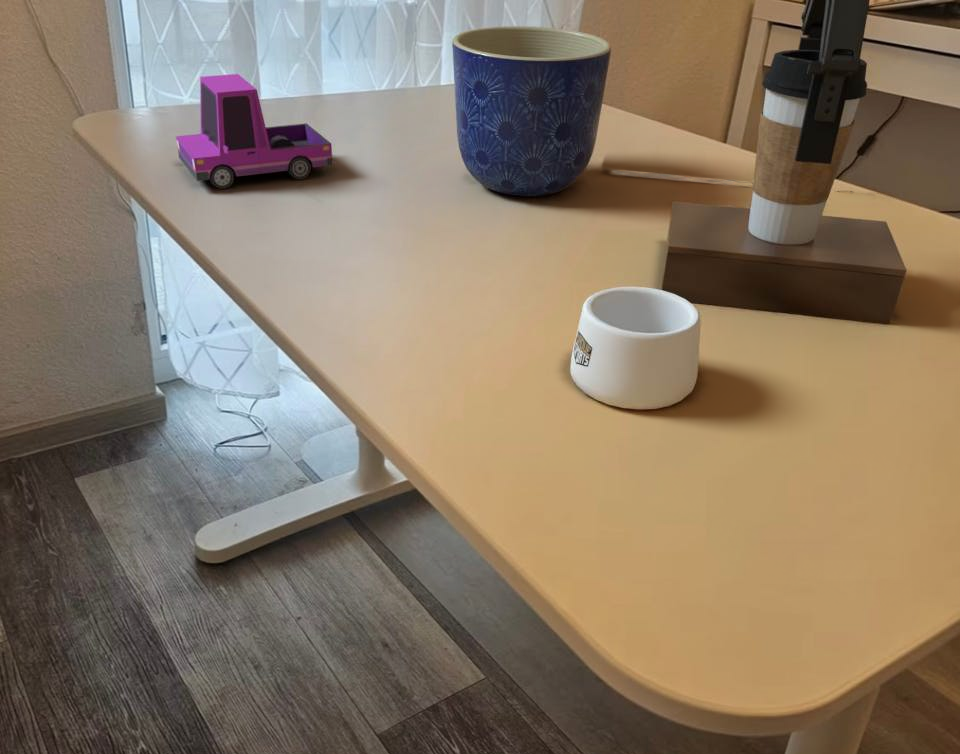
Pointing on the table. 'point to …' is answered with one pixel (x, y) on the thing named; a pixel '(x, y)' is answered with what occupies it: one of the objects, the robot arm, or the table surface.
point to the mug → (636, 348)
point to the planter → (528, 105)
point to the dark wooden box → (783, 265)
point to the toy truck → (246, 137)
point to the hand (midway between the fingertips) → (806, 138)
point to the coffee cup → (794, 153)
